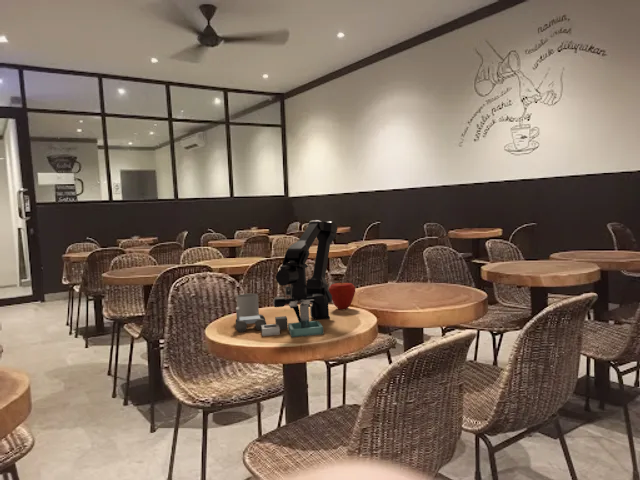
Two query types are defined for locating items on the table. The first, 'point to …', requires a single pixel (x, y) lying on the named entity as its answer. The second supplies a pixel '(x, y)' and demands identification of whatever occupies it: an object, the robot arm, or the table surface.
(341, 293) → the apple
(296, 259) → the robot arm
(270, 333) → the socket
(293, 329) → the tray
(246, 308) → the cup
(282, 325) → the dark grey cube
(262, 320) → the trolley
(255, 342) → the table surface
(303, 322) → the pin
